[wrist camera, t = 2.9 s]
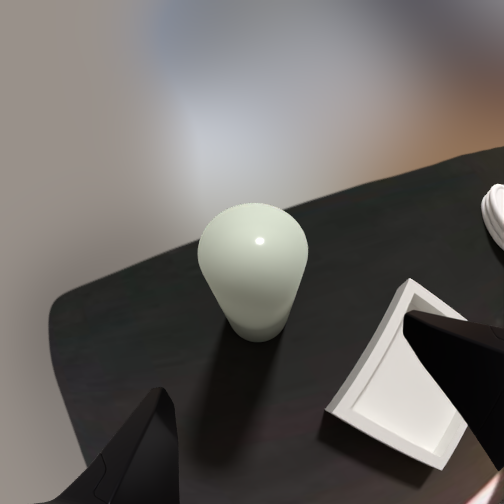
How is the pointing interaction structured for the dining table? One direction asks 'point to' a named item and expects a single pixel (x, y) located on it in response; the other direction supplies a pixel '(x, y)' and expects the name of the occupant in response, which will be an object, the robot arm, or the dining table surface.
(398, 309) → the tray
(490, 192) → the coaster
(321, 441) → the dining table surface
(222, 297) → the pale green rounded post
